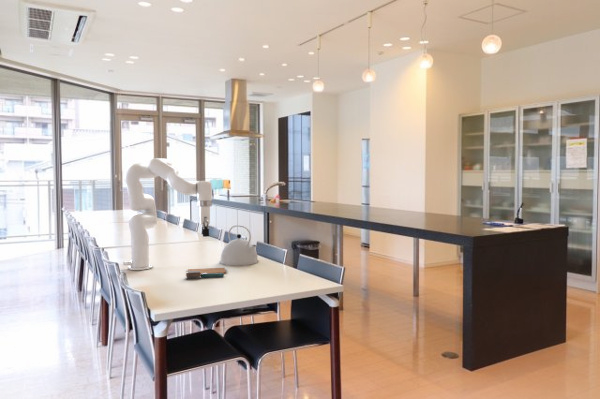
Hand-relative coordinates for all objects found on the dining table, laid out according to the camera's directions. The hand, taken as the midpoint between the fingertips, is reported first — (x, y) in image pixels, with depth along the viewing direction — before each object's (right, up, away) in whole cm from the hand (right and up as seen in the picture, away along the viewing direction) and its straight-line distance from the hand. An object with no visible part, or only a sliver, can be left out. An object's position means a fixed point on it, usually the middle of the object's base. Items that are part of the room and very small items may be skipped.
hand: (205, 235), depth 248 cm
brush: (+2, -22, -9) cm, 23 cm away
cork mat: (-1, -21, +5) cm, 21 cm away
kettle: (+14, -19, +34) cm, 42 cm away
